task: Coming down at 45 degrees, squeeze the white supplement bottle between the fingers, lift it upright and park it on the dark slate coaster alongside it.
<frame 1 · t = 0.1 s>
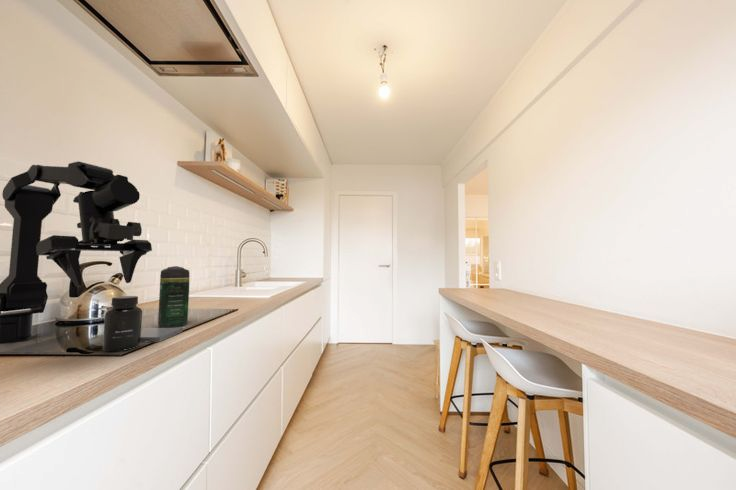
hand: (105, 284, 64), 15 cm above the counter, tool pointing down, fingers open, 9 cm apart
coaster: (152, 336, 78), on the counter
supplement bottle: (122, 348, 69), on the counter
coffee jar: (173, 325, 92), on the counter
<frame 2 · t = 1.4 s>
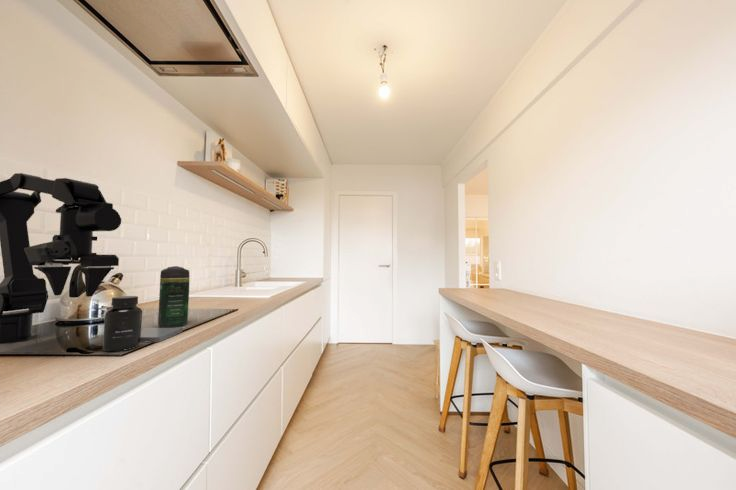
hand: (73, 295, 70), 12 cm above the counter, tool pointing down, fingers open, 9 cm apart
nothing on the counter moved.
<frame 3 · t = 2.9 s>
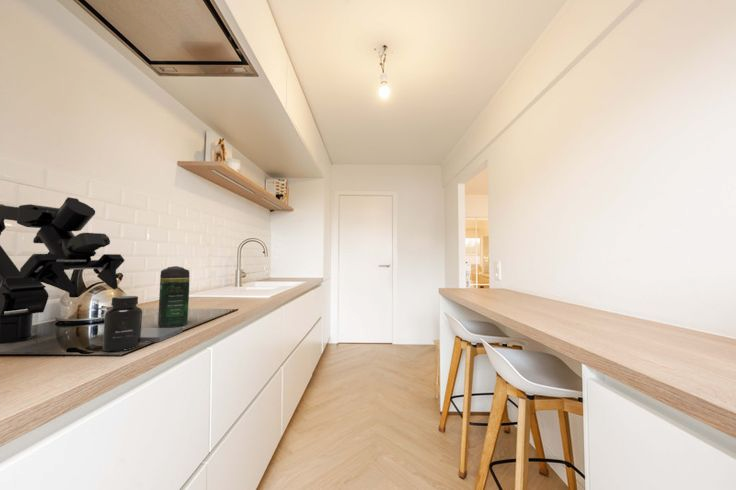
hand: (96, 290, 71), 13 cm above the counter, tool tilted 45°, fingers open, 9 cm apart
nothing on the counter moved.
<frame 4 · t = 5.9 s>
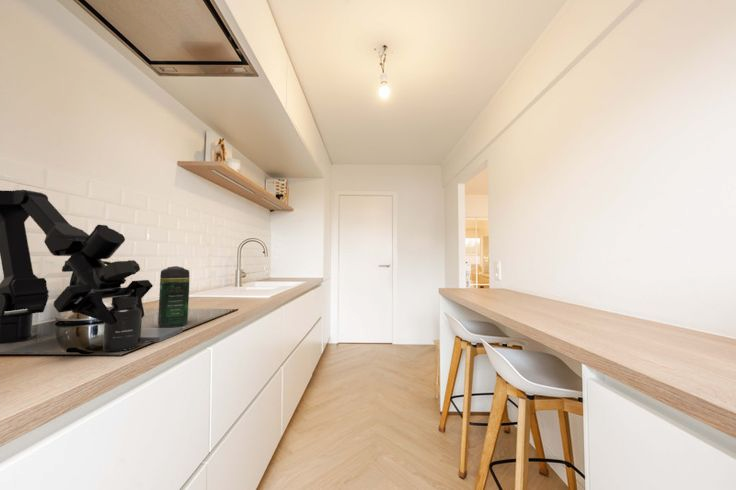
hand: (128, 319, 69), 7 cm above the counter, tool tilted 45°, fingers closed on supplement bottle, 7 cm apart
supplement bottle: (122, 348, 69), on the counter, touching gripper
everything else where it was.
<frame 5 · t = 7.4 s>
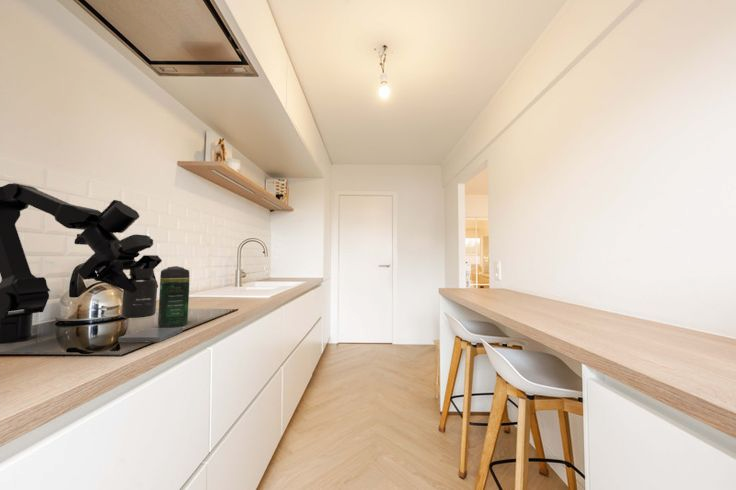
hand: (145, 289, 74), 13 cm above the counter, tool tilted 45°, fingers closed on supplement bottle, 7 cm apart
supplement bottle: (139, 316, 73), point 6 cm above the counter, touching gripper
everything else where it was.
when the fingers open (8 cm above the counter, at t = 9.5 s): supplement bottle stays where it is, resting on coaster.
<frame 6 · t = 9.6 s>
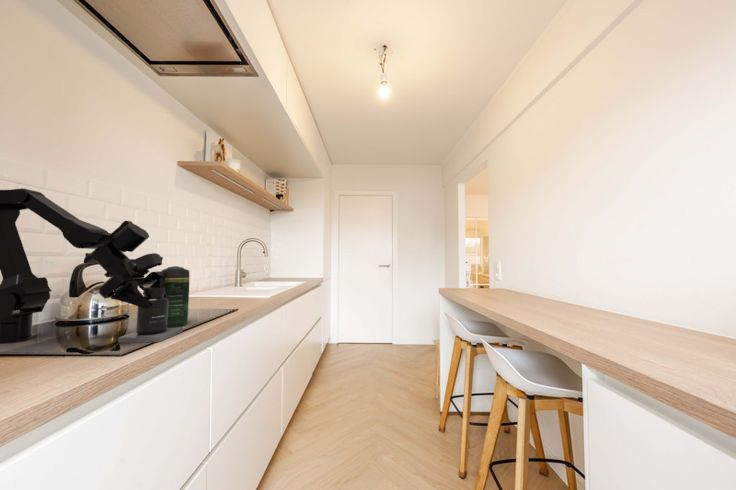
hand: (159, 305, 79), 8 cm above the counter, tool tilted 45°, fingers open, 8 cm apart
supplement bottle: (152, 332, 78), point 1 cm above the counter, touching coaster
everything else where it was.
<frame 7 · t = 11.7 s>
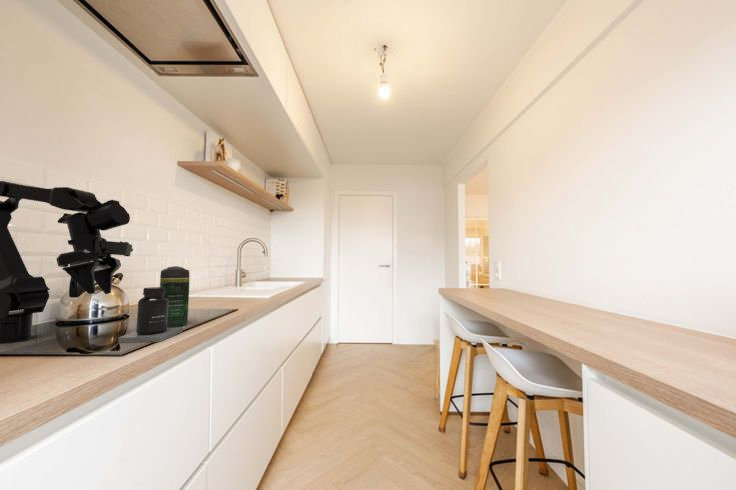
hand: (100, 293, 75), 12 cm above the counter, tool tilted 15°, fingers open, 9 cm apart
nothing on the counter moved.
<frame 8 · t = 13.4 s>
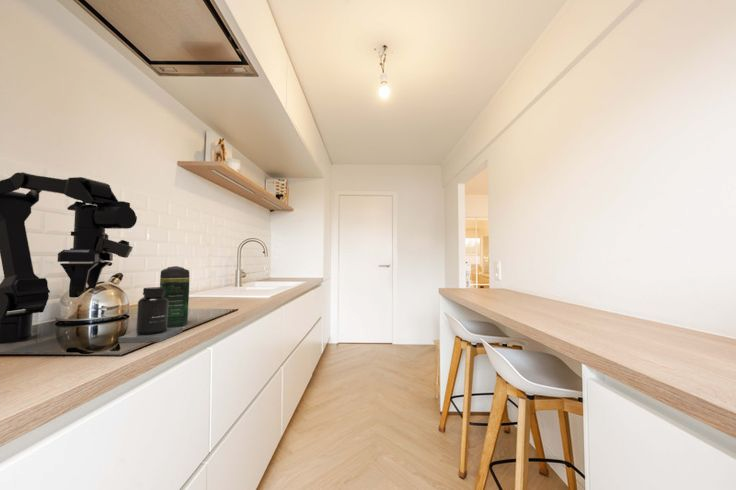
hand: (87, 290, 73), 13 cm above the counter, tool pointing down, fingers open, 9 cm apart
nothing on the counter moved.
at the end: supplement bottle inside the target area on the coaster (0.3 cm from its centre), point 1.0 cm above the coaster's base; supplement bottle tilted 0°; the gripper is holding nothing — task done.
